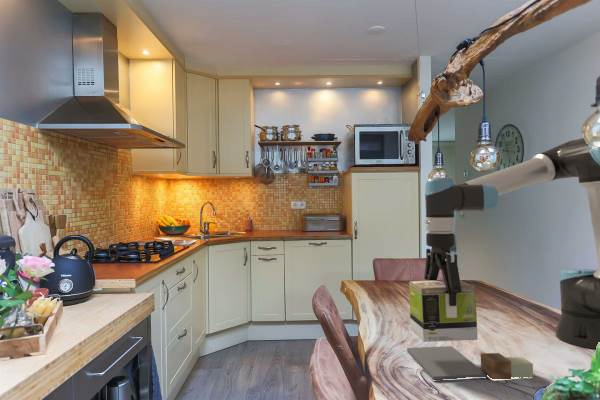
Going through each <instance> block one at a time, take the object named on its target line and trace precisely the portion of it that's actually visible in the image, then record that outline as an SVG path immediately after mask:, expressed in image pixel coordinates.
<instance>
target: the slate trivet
mask: <svg viewBox="0 0 600 400" xmlns="http://www.w3.org/2000/svg"><path fill="white" fill-rule="evenodd" d="M406 351H407V353H408V355H409V356H410V355H411V356H412V357H413V358H412V357H411V356H410V357H411V358H412V359H413V360H414V359H415V360H414V361H415V363H416V364H417V365H418V364H419V365H420V366H421V367H422V368H423V369H422V368H421V367H420V366H419V365H418V366H419V367H420V368H421V369H422V370H423V371H424V373H427V374H428V375H429V376H430V377H431V378H432V379H433V380H443V379H457V378H466V377H487V375H486V373H484V372H483V371H482V370H481V368H480V367H478V366H477V365H476V364H475V363H473V362H472V361H471V360H470V359H468V358H467V357H466V356H465V355H463V354H462V353H461V352H459V350H457V349H456V348H455V347H454V346H452V345H449V346H448V345H447V346H443V345H442V346H428V347H427V346H426V347H425V346H422V347H407V349H406ZM427 374H426V375H427ZM428 375H427V376H428ZM429 376H428V377H429ZM430 377H429V378H430ZM431 378H430V379H431ZM432 379H431V380H432ZM433 380H432V381H433Z"/></svg>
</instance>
